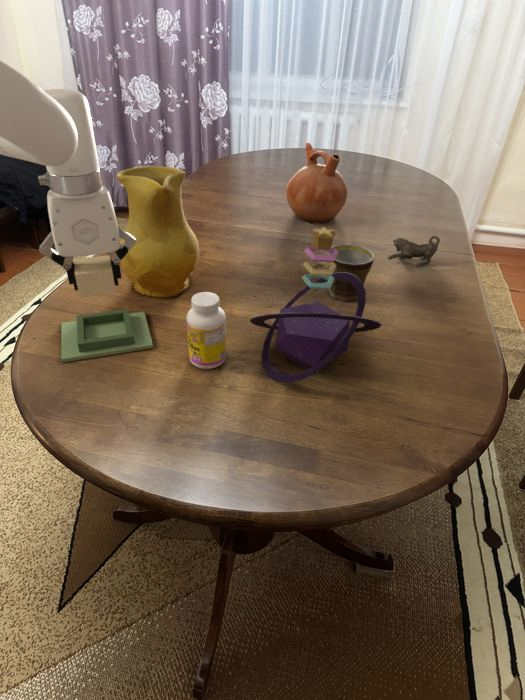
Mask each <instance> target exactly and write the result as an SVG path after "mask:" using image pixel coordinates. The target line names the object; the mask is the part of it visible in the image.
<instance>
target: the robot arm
mask: <svg viewBox="0 0 525 700" xmlns="http://www.w3.org/2000/svg"><path fill="white" fill-rule="evenodd" d="M94 132H95V131H94V127H93V120H92V115H91V109H90V104H89V102H88V99H87V96H86V95H84V93H82V92H81V91H78V90H76V89H68V88H50V89H42V88H41V87H40V86H38V85H37V84H36V83H34V82H33V81H32V80H31V79H29V78H28V77H27V76H25V75H24V74H23V73H21V72H20V71H18V70H17V69H15V68H14V67H12V66H11V65H10V64H7V63H6V62H4V61H3V60H1V59H0V155H1V156H5V157H8V158H13V159H17V160H21V161H26V162H30V163H34V164H38V165H41V166H45V167H46V168H45V169H46V172H45V174H43V175H38V176H37V179H38V183H39V185H40V186H48V188H49V190H48V191H47V195H46V200H47V201H46V202H47V212H48V219H49V224H50V229H51V231H50V232H49V233H48V234H47V236H46V237H45V238H44V240H43V241H42V243H41V244H40V245H39V248H38V251H39V253H40V254H41V255H43V256H45V257H47V258H49V259H51V261H52V262H54V263H55V264H57V265H58V266H60V267H62V268H63V270H65V271H66V276H67V279H68V280H67V281H68V284H69V285H73V288H74V291H78V286H77V282H76V277H75V264H74V257H75V258H76V257H85V256H95V255H104V254H107V255H109V256H110V261H111V266H112V272H113V278H114V283H115V287H116V286H119V285H120V284H119V279H122V271H121V267H120V266H121V265H120V264H122V262H121V260H122V259H123V258H124V257H125V256H126V254H127V253H128V251H129V250H130V249H131V248H132V247H133V246H134V245H135V243H136V239H135V237H134V236H132V235H131V234H130V233H128V232H127V231H126V230H125V228H123V227H122V226H120V225H119V224H118V220H117V216H116V212H115V207H114V204H113V201H112V197H111V195H110V191H109V189H108V187H107V186H106V185H103V181H102V176H101V169H100V163H99V158H98V157H99V156H98V150H97V145H96V139H95V133H94ZM121 238H122V239H123V240H125V242H124V243H123V244H122V245H121V246H120V239H121ZM53 246H54V247H55V249H53V248H52V247H53Z"/></svg>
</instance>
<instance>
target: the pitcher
mask: <svg viewBox="0 0 525 700" xmlns="http://www.w3.org/2000/svg"><path fill="white" fill-rule="evenodd" d="M186 174H187V173H186V171H184V170H182V169H179V168H176V167H172V166H159V165H143V166H141V165H140V166H135V167H134V166H133V167H130V168H126V169H123V170H120V171H119V172H117V173H116V179H117V180H118V181H119V183H120V184H122V186H123V187H124V188H125V191H126V195H127V201H128V220H127V224H126V227H125V228H124V230H126V231H127V232H128V233H130V234H131V235H132V236H134V237H135V239H136V243H135V245H134V246H133V247H132V248H131V249H130V250H129V251H128V253H127V254H126V256H125V257H124V258H123V259H122V260H121V266H122V268H123V272H124V273H125V275H126V277H127V279H129V280H130V281H132V282H133V288H134V290H135V292H138V293H140V294H141V295H146V296H148V297H154V298H155V297H156V298H170V297H171V298H172V297H176V296H178V295H180V294H181V293H183V292H185V291H186V289H187V288H188V287H189V286H190V283H189V282H190V279H189V275H190V274H191V273H192V272H193V271H195V270H196V269H197V265H198V262H199V261H198V260H199V257H200V247H199V241H198V237H197V236H196V234H195V232H194V231H193V230H192V228H191V227H190V225H189V223H188V220H187V219H186V217H185V212H184V208H183V207H184V206H183V200H182V186H183V182H184V181H185V178H186V176H187V175H186ZM124 242H125V240H123V239H122V238H121V237H120V246H121V245H122V244H123V243H124Z"/></svg>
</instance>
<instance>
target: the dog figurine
mask: <svg viewBox="0 0 525 700" xmlns="http://www.w3.org/2000/svg"><path fill="white" fill-rule="evenodd" d="M433 239H436V241H435V242H434V241H433ZM440 242H441V239H440V237H438V236H436V235H432V236H430V237H429V238H428V242H425V243H417V242H414V241H411V240H409V239H407V238H404V237H400V236H398V237H396V238H394V239H393V240H392V243H393V246H394V247H395V250H396V252H397V253H395V254H394V253H393V254H391V255H388V256H387V259H388V260H391V261H392V259H396V258H399V259H402V260H412V259H413V258H421V259H422V261H420V262H416V264H415V266H416V267H417V268H420V267H423V266H425V265H429V264H430V263H431V260H432V258H433V256H434V255H435V254H436V253H437V251H438V248H439V244H440Z"/></svg>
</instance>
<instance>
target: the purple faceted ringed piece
mask: <svg viewBox="0 0 525 700" xmlns="http://www.w3.org/2000/svg"><path fill="white" fill-rule="evenodd" d="M312 236H313V239H312V246H309V247H306V249H303V251H304V252H305V254H306V255H307V257H309V258H310V260H307V261H305V262H303V263H302V265H303V266H304V268H305V269H306V270H307V271H308V272H309V273H307V274H304V275H303V276H301V279H302V280H303V281H304V282H305V284H306V286H305V287H303V288H302V289H301V290H299V291H298V292H297V293H296V294H295V295H294V296H293V297H292V298H290V300H289V301H288V302H287V303H286V304H285V305H284V307H283V308H282V307H281V308H280V310H279V313H267V314H262V315H257V316H253V317H251V318H250V319H249V322H250V323H251V324H252V325H254V326H257V327H261V328H264V329H268V332H267V335H266V337H265V339H264V342H263V346H262V352H261V363H262V369H263V371H264V373H265V375H266V377H267V378H269V379H271V380H272V381H274V382H275V383H282V384H290V383H295V382H299V381H302V380H304V379H306V378H308V377H310V376H312V375H314V374H316V373H317V372H319V371H320V370H321V369H323V368H324V367H326V366H327V365H328V364H329V363H331V362H332V360H334V359H336V358H338V357H339V356H341V355H342V354H344V353H345V352H347V351H349V348H350V346H349V345H350V340H351V338H352V337H353V336H354V334H355V333H363V332H364V333H365V332H369V331H374V330H377V329H379V328H381V327H382V323H380V322H379V321H377V320H374V319H371V318H367V317H363V314H364V310H365V306H366V289H365V285H363V283H362V281H361V280H360V279H359V278H358V277H357V276H356V275H354V274H351V273H348V272H336V273H333V272H334V270H335V267H336V264H335V263H334V262H333V261H334V260H335V258H336V256H337V254H338V251H337V250H336V249H335V248H332V247H333V242H334V239H335V236H336V229H327V228H326V227H325V226H323V227H322V228H320V229H319V228H313V229H312ZM319 251H321V252H324V253H327V255H326V254H325V255H323V254H322V255H321V254H314V253H317V252H319ZM328 253H330V254H331V255H330V256H328ZM316 264H319V266H320V265H321V266H323V267H326V268H328V267H329V270H328V269H322V268H321V269H320V268H318V269H316V268H313V266H316ZM314 278H317V279H316V280H313V281H311V280H312V279H314ZM338 279H342V280H345V281H348V282H350V283H351V284H352V285H353V286H354V287H355V289H356V292H357V296H358V298H357V307H356V311H355V313H354V315H347V314H342V313H340V312H338V311H337V310H335V309H333V308H331V307H329V306H327V305H325V304H324V303H322V302H320V301H318V300H317V301H312V302H307V303H303V304H298V305H294V303H296V301H297V300H299V299H300V298H301V297H302V296H303V295H304V294H306V293H307V292H310V290H329V288H331V285H332V283H333V281H334V280H338ZM301 301H302V302H303V300H301ZM293 305H294V306H293ZM269 320H274V321H273V322H272V324H270V323H268V322H266V321H269ZM351 322H352V323H351ZM359 324H362V325H363V326H360V327H358V326H359ZM275 330H276V331H277V332H276V339H275V344H274V345H275V346H274V349H276V350H277V351H278V352H280V354H282V355H283V357H285V358H286V359H287V360H288V361H289V362H292V363H293V364H296V365H298V366H301V367H302V368H305V370H303V371H299V372H295V373H283V372H280V371H278V370H277V369H275V368H274V365H273V364H272V362H271V359H270V349H271V348H270V347H271V342H272V338H273V336H274V334H275Z"/></svg>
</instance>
